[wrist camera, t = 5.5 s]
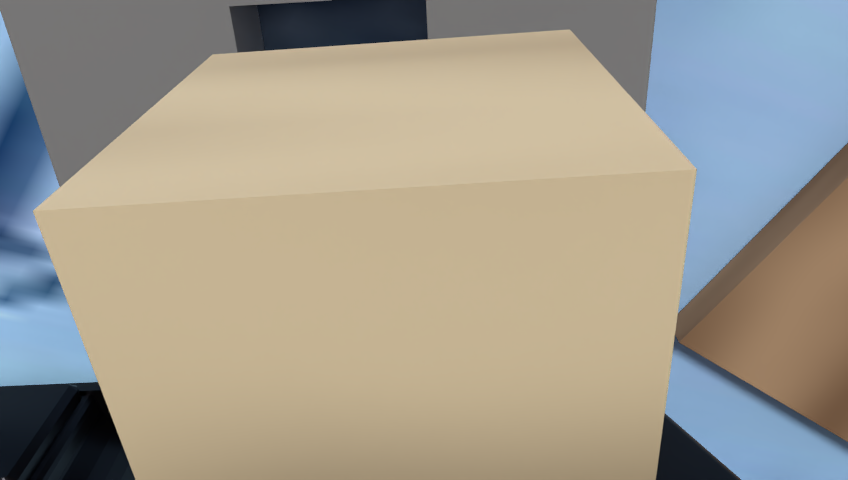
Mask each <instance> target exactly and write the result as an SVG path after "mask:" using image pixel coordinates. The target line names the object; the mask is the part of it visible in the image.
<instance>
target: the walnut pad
mask: <svg viewBox="0 0 848 480" xmlns="http://www.w3.org/2000/svg"><path fill="white" fill-rule="evenodd" d="M675 336H676V338H677V339H678V341H679V343H681V344H683V345H684V346H686V347H688V348H689V349H691V350H693V351H695V352H696V353H698V354H700V355H701V356H703V357H705V358H706V359H708V360H710V361H712V362H713V363H715V364H717V365H718V366H720V367H722V368H723V369H725V370H727V371H728V372H730V373H732V374H734V375H735V376H737V377H739V378H740V379H742V380H744V381H745V382H747V383H749V384H751V385H752V386H754V387H756V388H757V389H759V390H761V391H762V392H764V393H766V394H767V395H769V396H771V397H773V398H774V399H776V400H778V401H779V402H781V403H783V404H784V405H786V406H788V407H790V408H791V409H793V410H795V411H796V412H798V413H800V414H801V415H803V416H805V417H806V418H808V419H810V420H812V421H813V422H815V423H817V424H818V425H820V426H822V427H823V428H825V429H827V430H829V431H830V432H832V433H834V434H835V435H837V436H839V437H840V438H842V439H844V440H846V441H847V442H848V143H847V144H846V145H845V146H844V147H843V148H842V149H841V150H840V151H839V152H838V153H837V154H836V155H835V156H834V157H833V158H832V159H831V160H830V161H829V162H828V163H827V164H826V165H825V166H824V167H823V168H822V170H821V171H820V172H819V173H818V174H817V175H816V176H815V177H814V178H813V179H812V180H811V181H810V182H809V183H808V184H807V185H806V186H805V187H804V188H803V189H802V190H801V191H800V192H799V193H798V194H797V195H796V196H795V197H794V198H793V199H792V200H791V201H790V202H789V203H788V204H787V205H786V206H785V207H784V208H783V209H782V210H781V211H780V212H779V213H778V214H777V215H776V216H775V217H774V218H773V219H772V220H771V221H770V222H769V223H768V224H767V225H766V226H765V227H764V228H763V229H762V230H761V231H760V232H759V233H758V234H757V235H756V236H755V237H754V238H753V239H752V240H751V241H750V242H749V243H748V244H747V245H746V246H745V247H744V248H743V249H742V250H741V251H740V252H739V253H738V254H737V255H736V256H735V257H734V258H733V259H732V260H731V261H730V262H729V263H728V264H727V265H726V266H725V267H724V268H723V269H722V270H721V271H720V272H719V273H718V274H717V275H716V276H715V277H714V278H713V279H712V280H711V281H710V282H709V283H708V284H707V285H706V286H705V287H704V288H703V289H702V290H701V291H700V292H699V293H698V294H697V295H696V296H695V297H694V298H693V299H692V300H691V301H690V302H689V303H688V304H687V305H686V306H685V307H684V308H683V309H682V310H681V311H680V312H679V313H678V315H677V323H676V331H675Z"/></svg>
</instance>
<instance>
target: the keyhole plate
mask: <svg viewBox="0 0 848 480" xmlns="http://www.w3.org/2000/svg"><path fill="white" fill-rule="evenodd" d="M313 1H330V0H0V11H1V14H2V17H3V20H4V23H5V26H6V29H7V32H8V35H9V38H10V41H11V44H12V46H13V49H14V52H15V55H16V58H17V61H18V64H19V67H20V70H21V73H22V76H23V79H24V82H25V85H26V88H27V91H28V94H29V97H30V100H31V103H32V106H33V109H34V112H35V115H36V118H37V121H38V124H39V127H40V129H41V132H42V135H43V138H44V141H45V144H46V147H47V150H48V153H49V156H50V159H51V162H52V165H53V168H54V171H55V174H56V177H57V180H58V183H59V186H60V187H61V186H62V185H63V184H64V183H66V182H67V181H68V180H69V179H70V178H71V177H72V176H74V175H75V174H76V173H77V172H78V171H79V170H80V169H82V168H83V167H84V166H85V165H86V164H87V163H89V162H90V161H91V160H92V159H93V158H94V157H95V156H97V155H98V154H99V153H100V152H101V151H102V150H103V149H105V148H106V147H107V146H108V145H109V144H110V143H111V142H113V141H114V140H115V139H116V138H117V137H118V136H119V135H121V134H122V133H123V132H124V131H125V130H126V129H128V128H129V127H130V126H131V125H132V124H133V123H134V122H136V121H137V120H138V119H139V118H140V117H141V116H142V115H144V114H145V113H146V112H147V111H148V110H149V109H150V108H152V107H153V106H154V105H155V104H156V103H157V102H159V101H160V100H161V99H162V98H163V97H164V96H165V95H167V94H168V93H169V92H170V91H171V90H172V89H173V88H175V87H176V86H177V85H178V84H179V83H180V82H181V81H183V80H184V79H185V78H186V77H187V76H188V75H190V74H191V73H192V72H193V71H194V70H195V69H196V68H198V67H199V66H200V65H201V64H202V63H203V62H204V61H206V60H207V59H208V58H209V57H210V56H211V55H212V54H226V53H240V52H254V51H265V49H264V43H263V37H262V31H261V25H260V18H259V12H258V6H257V5H261V4H278V3H295V2H313ZM656 3H657V0H426V12H427V31H428V39H440V38H454V37H469V36H483V35H497V34H511V33H526V32H540V31H554V30H569V29H570V30H571V31H572V32H573V34H574V35H575V36H576V37H577V38H578V39H579V40H580V41H581V42H582V43H583V45H584V46H585V47H586V48H587V49H588V50H589V51H590V52H591V53H592V54H593V56H594V57H595V58H596V59H597V60H598V61H599V62H600V63H601V64H602V65H603V67H604V68H605V69H606V70H607V71H608V72H609V73H610V74H611V75H612V76H613V78H614V79H615V80H616V81H617V82H618V83H619V84H620V85H621V86H622V88H623V89H624V90H625V91H626V92H627V93H628V94H629V95H630V96H631V97H632V99H633V100H634V101H635V102H636V103H637V104H638V105H639V106H640V107H641V108H642V110H643V111H644V112H645V109H646V100H647V90H648V80H649V71H650V61H651V51H652V41H653V32H654V22H655V12H656Z"/></svg>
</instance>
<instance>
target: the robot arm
mask: <svg viewBox="0 0 848 480" xmlns="http://www.w3.org/2000/svg"><path fill="white" fill-rule="evenodd" d="M0 480H135V477H134V474H133V472H132V469H131V467H130V464H129V461H128V459H127V456H126V454H125V451H124V448H123V446H122V443H121V440H120V438H119V435H118V433H117V430H116V427H115V425H114V422H113V419H112V417H111V414H110V412H109V409H108V406H107V404H106V401H105V399H104V396H103V393H102V391H101V388H100V385H99V383H98V382H93V383H70V384H48V385H25V386H2V387H0ZM656 480H741V479H740V478H739V477H737V476H736V475H735V474H734V473H733V472H732V471H731V470H729V469H728V468H727V467H726V466H725V465H724V464H722V463H721V462H720V461H719V460H718V459H717V458H716V457H714V456H713V455H712V454H711V453H710V452H709V451H708V450H706V449H705V448H704V447H703V446H702V445H701V444H699V443H698V442H697V441H696V440H695V439H694V438H693V437H691V436H690V435H689V434H688V433H687V432H686V431H685V430H683V429H682V428H681V427H680V426H679V425H678V424H677V423H675V422H674V421H673V420H672V419H671V418H670V417H668V416H667V415H666V414H664V421H663V429H662V437H661V444H660V452H659V459H658V467H657V475H656Z"/></svg>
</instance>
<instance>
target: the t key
mask: <svg viewBox="0 0 848 480" xmlns="http://www.w3.org/2000/svg"><path fill="white" fill-rule="evenodd" d="M696 171H697V169H696V168H695V167H694V166H693V165H692V164H691V162H690V161H689V160H688V159H687V158H686V157H685V156H684V155H683V154H682V152H681V151H680V150H679V149H678V148H677V147H676V146H675V145H674V144H673V143H672V141H671V140H670V139H669V138H668V137H667V136H666V135H665V134H664V133H663V132H662V130H661V129H660V128H659V127H658V126H657V125H656V124H655V123H654V122H653V121H652V119H651V118H650V117H649V116H648V115H647V114H646V113H645V112H644V111H643V110H642V108H641V107H640V106H639V105H638V104H637V103H636V102H635V101H634V100H633V99H632V97H631V96H630V95H629V94H628V93H627V92H626V91H625V90H624V89H623V88H622V86H621V85H620V84H619V83H618V82H617V81H616V80H615V79H614V78H613V76H612V75H611V74H610V73H609V72H608V71H607V70H606V69H605V68H604V67H603V65H602V64H601V63H600V62H599V61H598V60H597V59H596V58H595V57H594V56H593V54H592V53H591V52H590V51H589V50H588V49H587V48H586V47H585V46H584V45H583V43H582V42H581V41H580V40H579V39H578V38H577V37H576V36H575V35H574V34H573V32H572V31H571V30H570V29H569V30H554V31H540V32H526V33H511V34H497V35H483V36H469V37H454V38H440V39H426V40H411V41H397V42H383V43H369V44H354V45H340V46H326V47H311V48H297V49H283V50H269V51H254V52H240V53H226V54H212V55H211V56H210V57H209V58H208V59H207V60H206V61H204V62H203V63H202V64H201V65H200V66H199V67H198V68H196V69H195V70H194V71H193V72H192V73H191V74H190V75H188V76H187V77H186V78H185V79H184V80H183V81H181V82H180V83H179V84H178V85H177V86H176V87H175V88H173V89H172V90H171V91H170V92H169V93H168V94H167V95H165V96H164V97H163V98H162V99H161V100H160V101H159V102H157V103H156V104H155V105H154V106H153V107H152V108H150V109H149V110H148V111H147V112H146V113H145V114H144V115H142V116H141V117H140V118H139V119H138V120H137V121H136V122H134V123H133V124H132V125H131V126H130V127H129V128H128V129H126V130H125V131H124V132H123V133H122V134H121V135H119V136H118V137H117V138H116V139H115V140H114V141H113V142H111V143H110V144H109V145H108V146H107V147H106V148H105V149H103V150H102V151H101V152H100V153H99V154H98V155H97V156H95V157H94V158H93V159H92V160H91V161H90V162H89V163H87V164H86V165H85V166H84V167H83V168H82V169H80V170H79V171H78V172H77V173H76V174H75V175H74V176H72V177H71V178H70V179H69V180H68V181H67V182H66V183H64V184H63V185H62V186H61V187H60V188H59V189H58V190H56V191H55V192H54V193H53V194H52V195H51V196H49V197H48V198H47V199H46V200H45V201H44V202H43V203H41V204H40V205H39V206H38V207H37V208H36V209H35V210H33V213H34V215H35V218H36V220H37V223H38V226H39V228H40V231H41V234H42V236H43V239H44V241H45V244H46V247H47V249H48V252H49V255H50V257H51V260H52V262H53V265H54V268H55V270H56V273H57V275H58V278H59V281H60V283H61V286H62V289H63V291H64V294H65V296H66V299H67V302H68V304H69V307H70V310H71V312H72V315H73V317H74V320H75V323H76V325H77V328H78V330H79V333H80V336H81V338H82V341H83V344H84V346H85V349H86V351H87V354H88V357H89V359H90V362H91V365H92V367H93V370H94V372H95V375H96V378H97V380H98V383H99V385H100V388H101V391H102V393H103V396H104V399H105V401H106V404H107V406H108V409H109V412H110V414H111V417H112V419H113V422H114V425H115V427H116V430H117V433H118V435H119V438H120V440H121V443H122V446H123V448H124V451H125V454H126V456H127V459H128V461H129V464H130V467H131V469H132V472H133V474H134V477H135V480H656V475H657V467H658V459H659V452H660V444H661V437H662V429H663V421H664V414H665V406H666V399H667V391H668V384H669V376H670V368H671V361H672V353H673V346H674V338H675V331H676V323H677V315H678V308H679V300H680V293H681V285H682V277H683V270H684V262H685V255H686V247H687V240H688V232H689V224H690V217H691V209H692V202H693V194H694V186H695V179H696Z"/></svg>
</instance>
